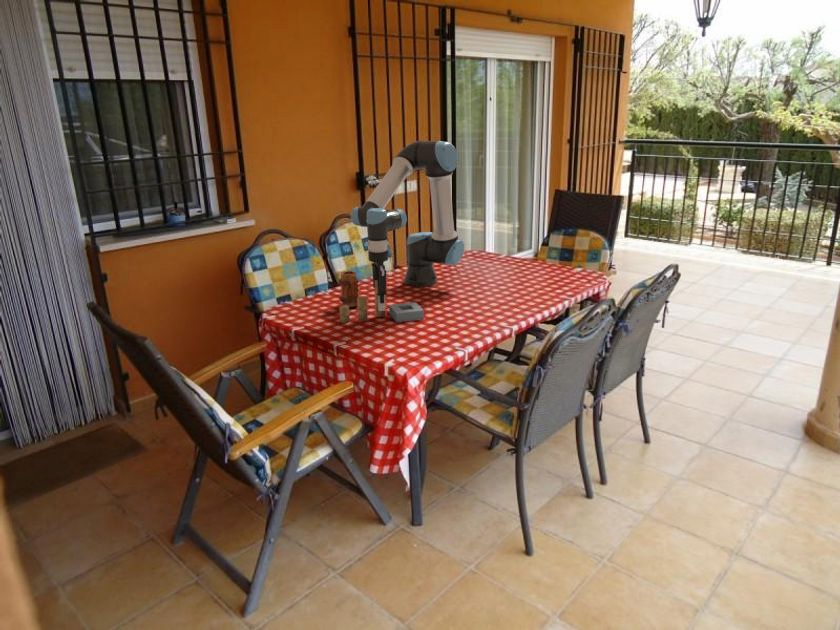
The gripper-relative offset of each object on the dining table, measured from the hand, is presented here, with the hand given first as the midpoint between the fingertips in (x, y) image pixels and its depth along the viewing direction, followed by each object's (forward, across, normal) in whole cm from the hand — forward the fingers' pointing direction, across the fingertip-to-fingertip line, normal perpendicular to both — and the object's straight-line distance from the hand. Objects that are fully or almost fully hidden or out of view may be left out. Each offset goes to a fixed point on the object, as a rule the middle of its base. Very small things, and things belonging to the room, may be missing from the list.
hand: (380, 308), depth 244 cm
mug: (+4, -16, -8) cm, 18 cm away
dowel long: (+3, 0, 0) cm, 3 cm away
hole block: (+4, +2, +10) cm, 11 cm away
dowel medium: (+3, 0, -7) cm, 8 cm away
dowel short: (+3, 0, -14) cm, 15 cm away
